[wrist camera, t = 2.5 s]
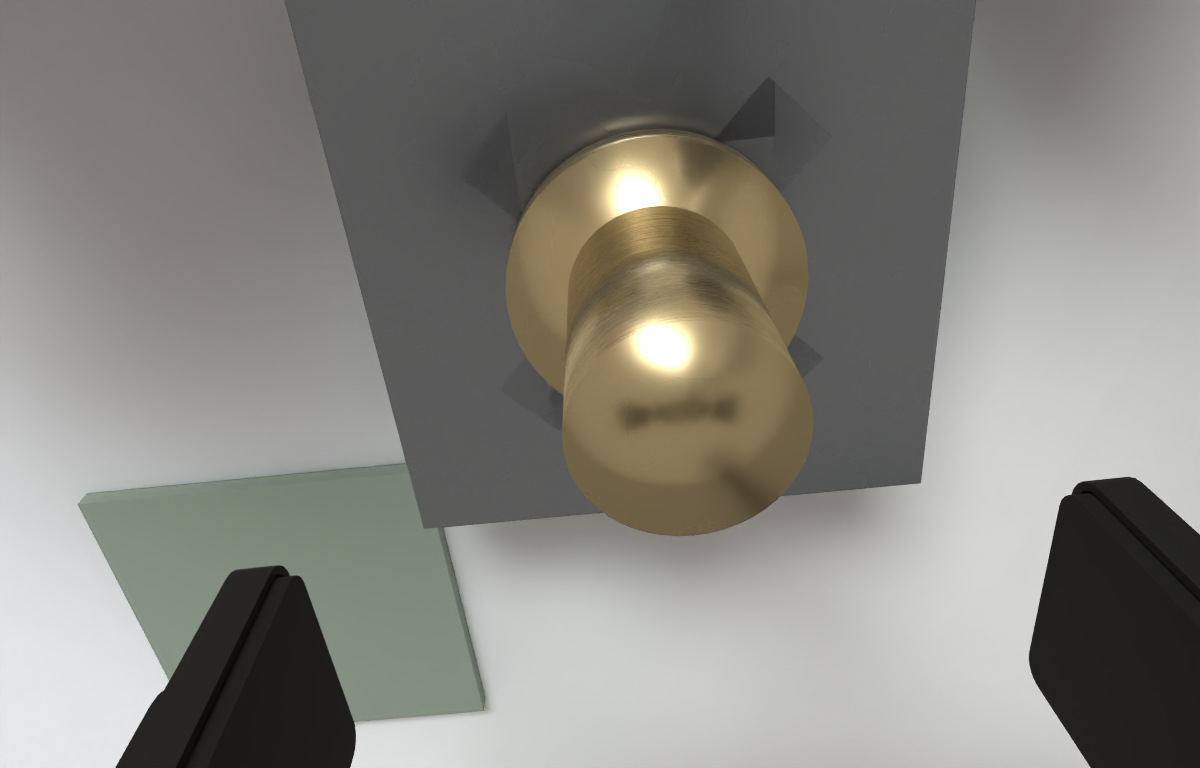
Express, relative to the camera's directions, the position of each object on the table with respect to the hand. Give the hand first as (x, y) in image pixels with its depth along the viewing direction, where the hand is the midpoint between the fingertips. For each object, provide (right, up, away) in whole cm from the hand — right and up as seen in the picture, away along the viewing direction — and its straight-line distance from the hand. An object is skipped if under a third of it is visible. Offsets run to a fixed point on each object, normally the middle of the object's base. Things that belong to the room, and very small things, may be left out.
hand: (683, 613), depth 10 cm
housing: (0, +8, +13) cm, 16 cm away
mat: (-12, -6, +21) cm, 25 cm away
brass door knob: (0, +8, +13) cm, 16 cm away
